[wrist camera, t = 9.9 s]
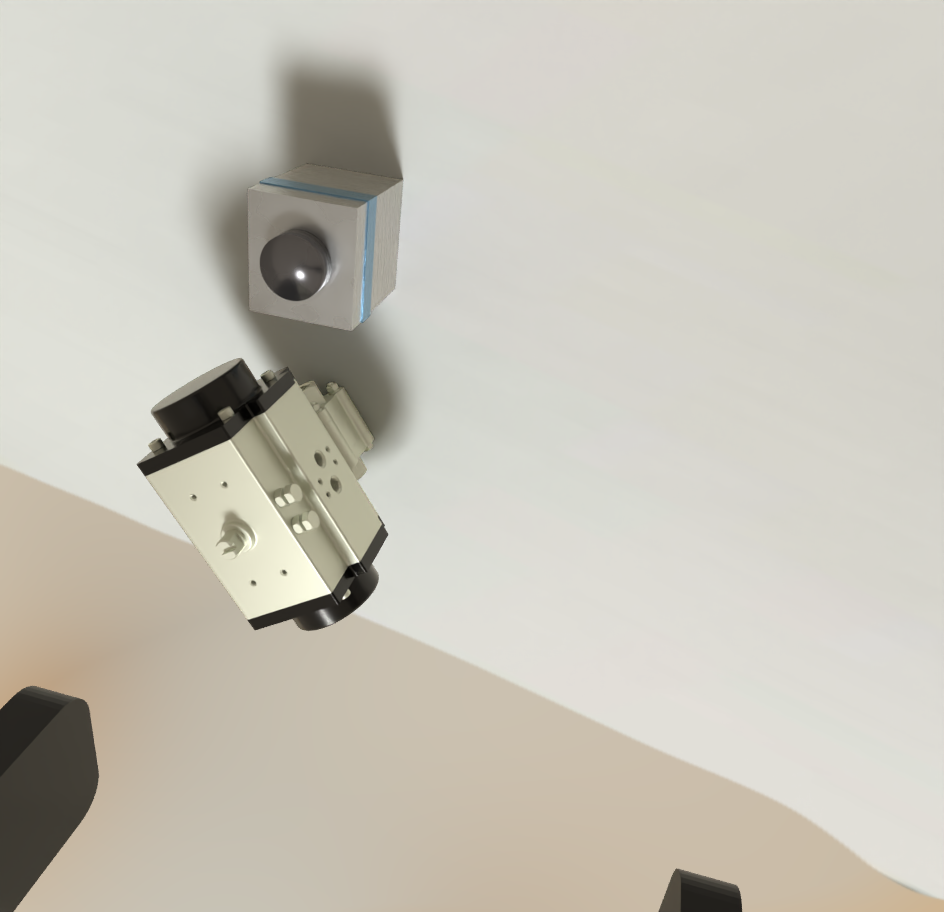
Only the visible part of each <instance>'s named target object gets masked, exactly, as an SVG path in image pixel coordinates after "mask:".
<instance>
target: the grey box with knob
mask: <svg viewBox="0 0 944 912" xmlns="http://www.w3.org/2000/svg"><path fill="white" fill-rule="evenodd" d="M402 190H403V180H402V179H396V178H391V177H385V176H379V175H373V174H367V173H361V172H356V171H350V170H344V169H338V168H332V167H326V166H320V165H315V164H309V163H307V164H304V165H302V166H300V167H297V168H295V169H293V170H290V171H288V172H286V173H283V174H281V175H279V176H276V177H274V178H273V177H269V178H267V179H265V180H262V181H260V184H257V185H255V186H253V187H250V188H248V189H247V199H248V260H249V311H253V312H258V313H263V314H268V315H273V316H278V317H283V318H288V319H293V320H298V321H303V322H308V323H313V324H318V325H323V326H328V327H333V328H338V329H343V330H349V331H352V330H353V329H354V328H355V327H356V326H357V325H358V324H359V323H360V322H361V323H363V322H364V321H365V320H366V319H367V318H368V317H369V316H370V313H371V312H372V311H373V310H374V309H375V308H376V307H377V306H378V305H379V304H380V303H381V302H382V301H383V300H384V299H385V298H386V297H387V296H388V295H389V294H390V293H391V292H392V291H393V290H394V289H395V285H396V271H397V258H398V244H399V231H400V217H401V204H402Z"/></svg>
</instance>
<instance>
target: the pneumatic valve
mask: <svg viewBox="0 0 944 912" xmlns="http://www.w3.org/2000/svg"><path fill="white" fill-rule="evenodd" d="M260 377H261V379H259V380H256V379H255V377H254V376H253V374H252V372H251V371H250V369H249V368H248V366H247V365H246V363H245V361H244V360H243V359H242V358H237V359H234V360H231V361H229V362H227V363H224V364H222V365H220V366H218V367H216V368H214V369H212V370H210V371H208V372H206V373H205V374H203V375H201V376H199V377H197V378H196V379H194V380H192V381H191V382H189V383H187V384H186V385H184V386H182V387H181V388H179V389H178V390H176V391H174V392H173V393H171V394H170V395H168V396H167V397H166V398H164V399H163V400H161V401H160V402H159V403H158V404H156V405H155V406H154V407H153V408H152V410H151V414H152V415H153V417H154V418H155V420H156V421H157V423H158V424H159V426H160V427H161V429H162V430H163V431H164V433H165V434H166V436H167V437H168V438H167V439H166V440H165V441H164V442H162V440H161V439H160V438H158V439H156V440H154V441H152V442H151V443H149V445H148V446H149V448H150V449H151V450H152V452H150V453H149V454H148V455H147V456H146V457H144V458H143V459H142V460H141V461H140V462H138V463H137V466H138V467H139V468H140V470H141V471H142V473H143V474H144V475H145V477H146V478H147V480H148V481H149V482H150V484H151V485H152V487H153V488H154V490H155V491H156V492H157V494H158V495H159V497H160V498H161V499H162V501H163V502H164V504H165V505H166V506H167V508H168V509H169V511H170V512H171V513H172V515H173V516H174V518H175V519H176V520H177V522H178V523H179V525H180V526H181V527H182V529H183V530H184V532H185V533H186V534H187V536H188V537H189V539H190V540H191V541H192V543H193V544H194V546H195V547H196V548H197V550H198V551H199V553H200V554H201V556H202V557H203V558H204V560H205V561H206V562H207V564H208V565H209V567H210V568H211V570H212V571H213V572H214V574H215V575H216V577H217V578H218V579H219V581H220V582H221V584H222V585H223V586H224V588H225V589H226V591H227V592H228V593H229V595H230V596H231V597H232V599H233V600H234V602H235V603H236V605H237V606H238V607H239V609H240V610H241V612H242V613H243V614H244V616H245V617H246V619H247V620H248V622H249V623H250V624H251V626H252V627H253V628H254V630H258V629H261V628H264V627H267V626H270V625H274V624H277V623H280V622H283V621H287V620H289V619H293V620H294V621H295V623H296V624H297V626H298V627H299V628H300V629H302V630H306V631H311V630H318V629H321V628H325V627H327V626H330V625H332V624H334V623H336V622H338V621H340V620H342V619H343V618H344V617H346V616H348V615H349V614H351V613H352V612H354V611H355V610H356V609H357V608H359V607H360V606H361V605H362V604H363V603H364V602H365V601H366V600H367V599H368V598H369V597H370V595H371V594H372V593H373V591H374V590H375V588H376V586H377V584H378V580H379V575H378V572H377V571H376V569H375V568H374V566H373V565H372V563H373V561H374V559H375V557H376V556H377V554H378V552H379V550H380V548H381V547H382V545H383V543H384V541H385V540H386V538H387V536H388V533H387V531H386V530H385V528H384V526H385V525H384V523H383V522H382V520H381V519H380V517H379V515H378V514H377V512H376V510H375V509H374V507H373V505H372V504H371V502H370V501H369V499H368V497H367V496H366V494H365V492H364V491H363V489H362V488H361V486H360V484H359V483H358V481H357V480H359V479H360V478H361V477H362V476H363V475H364V474H365V473H366V471H367V468H366V467H365V465H364V463H363V461H362V460H361V458H360V455H361V454H362V453H363V452H366V451H368V450H370V449H372V448H373V444H372V442H373V440H374V437H373V436H372V434H371V432H370V431H369V429H368V427H367V426H366V424H365V422H364V421H363V419H362V417H361V416H360V414H359V412H358V411H357V409H356V407H355V405H354V404H353V402H352V400H351V399H350V397H349V395H348V394H347V392H346V390H345V389H344V387H338V385H337V384H336V383H333V382H330V383H328V384H327V386H328V387H326V389H327V391H328V392H329V393H328V394H326V395H322V393H321V392H320V390H319V388H318V387H317V385H316V383H315V382H314V381H309V382H306V383H304V384H302V385H300V386H299V385H298V383H297V381H296V380H295V378H294V376H293V375H292V373H291V372H290V370H289V368H288V367H285V368H283V369H281V370H279V371H277V372H275V373H273V372H272V370H268V371H266V372H265V373H263V374H262V375H261V376H260Z"/></svg>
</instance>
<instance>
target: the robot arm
mask: <svg viewBox="0 0 944 912" xmlns="http://www.w3.org/2000/svg"><path fill="white" fill-rule="evenodd" d="M98 778H99V773H98V765H97V758H96V751H95V745H94V738H93V731H92V725H91V718H90V712H89V707H88V705H87V703H86V702H85V701H84V700H82V699H79V698H76V697H72V696H68V695H64V694H61V693H58V692H54V691H51V690H47V689H43V688H39V687H36V686H30V687H26V688H24V689H22V690H21V691H19V692H18V693H17V694H16V695H14V696H13V697H12V698H11V699H10V700H9V701H8V702H7V703H6V704H5V705H4V706H3V707H2V708H1V709H0V912H13V911H14V910H15V909H16V907H17V906H18V905H19V903H20V902H21V901H22V900H23V898H24V897H25V896H26V894H27V893H28V892H29V890H30V889H31V887H32V886H33V885H34V884H35V882H36V881H37V880H38V878H39V877H40V876H41V874H42V873H43V872H44V870H45V869H46V868H47V866H48V865H49V864H50V862H51V861H52V860H53V858H54V857H55V856H56V854H57V853H58V852H59V850H60V849H61V848H62V847H63V845H64V844H65V842H66V841H67V840H68V838H69V837H70V836H71V834H72V833H73V832H74V831H75V829H76V828H77V827H78V825H79V824H80V823H81V821H82V820H83V818H84V817H85V815H86V813H87V812H88V810H89V808H90V806H91V804H92V801H93V799H94V796H95V793H96V789H97V785H98ZM659 912H742V903H741V896H740V891H739V888H738V887H737V886H736V885H734V884H731V883H727V882H723V881H720V880H716V879H713V878H709V877H706V876H702V875H698V874H695V873H691V872H688V871H684V870H680V869H676V870H675V871H674V873H673V875H672V877H671V880H670V883H669V885H668V888H667V891H666V894H665V896H664V899H663V901H662V904H661V907H660V909H659Z"/></svg>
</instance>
